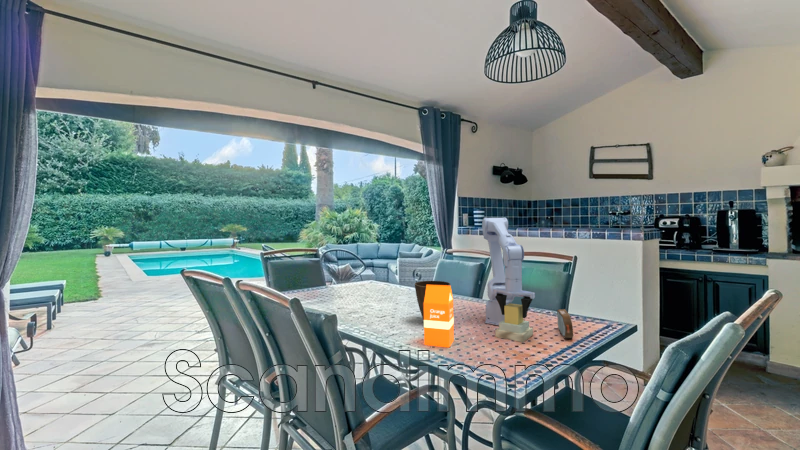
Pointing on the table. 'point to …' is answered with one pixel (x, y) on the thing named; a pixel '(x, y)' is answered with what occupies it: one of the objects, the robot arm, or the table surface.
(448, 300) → the orange juice
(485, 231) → the robot arm
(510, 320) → the mustard block
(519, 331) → the sage top slab
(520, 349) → the table surface
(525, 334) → the oak plinth
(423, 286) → the plant pot
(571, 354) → the table surface
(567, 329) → the tin
